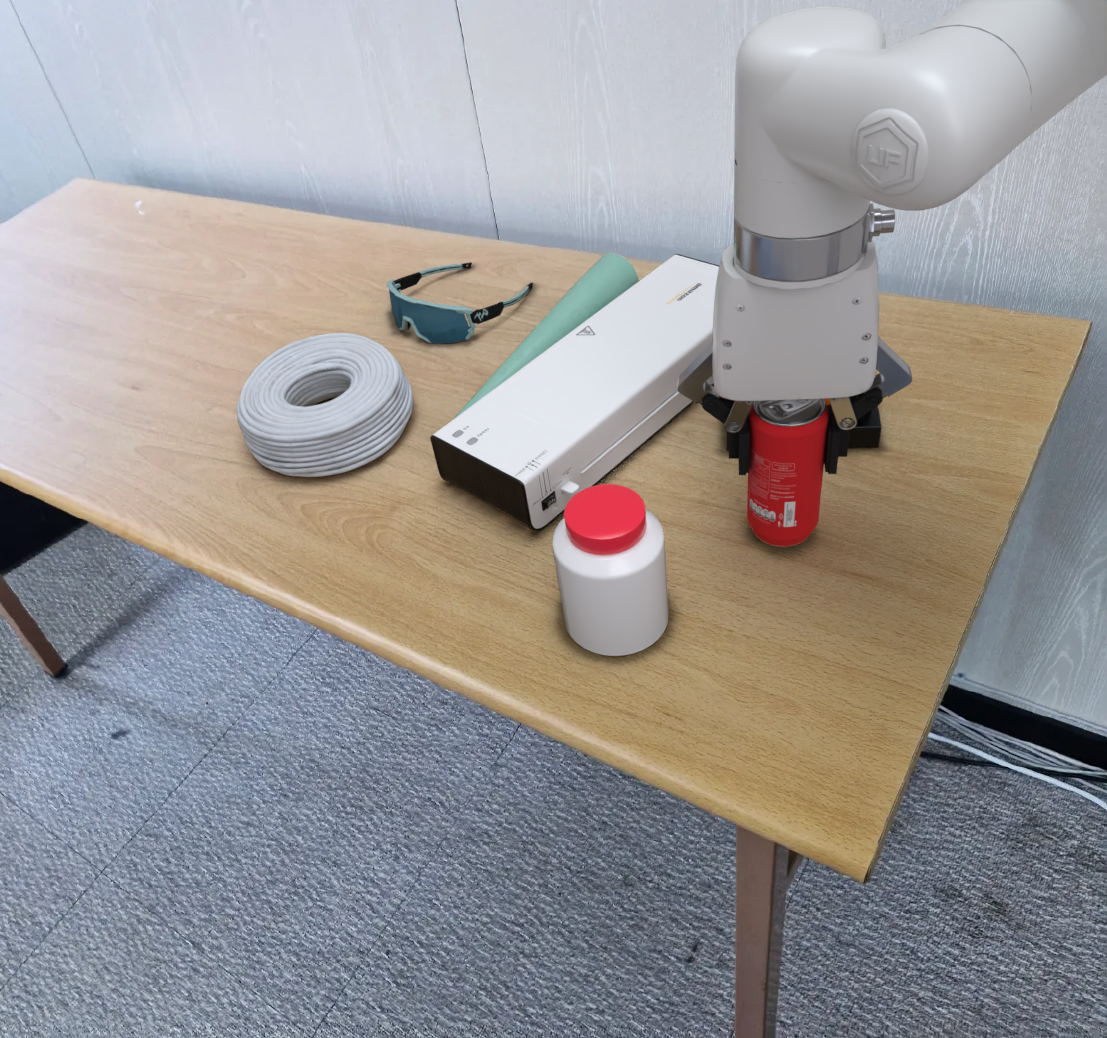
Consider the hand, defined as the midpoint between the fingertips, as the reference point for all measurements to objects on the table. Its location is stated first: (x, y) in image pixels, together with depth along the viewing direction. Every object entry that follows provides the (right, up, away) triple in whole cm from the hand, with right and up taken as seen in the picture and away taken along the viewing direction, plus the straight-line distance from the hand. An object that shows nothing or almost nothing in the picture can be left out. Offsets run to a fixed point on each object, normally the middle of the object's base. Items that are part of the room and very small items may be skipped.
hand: (785, 460), depth 71 cm
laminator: (-8, +6, +20) cm, 22 cm away
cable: (-35, +5, +28) cm, 45 cm away
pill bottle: (-12, -12, +3) cm, 17 cm away
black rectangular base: (+7, +5, +15) cm, 17 cm away
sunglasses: (-22, +20, +40) cm, 50 cm away
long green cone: (-14, +11, +28) cm, 34 cm away
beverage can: (+1, -5, +5) cm, 7 cm away
